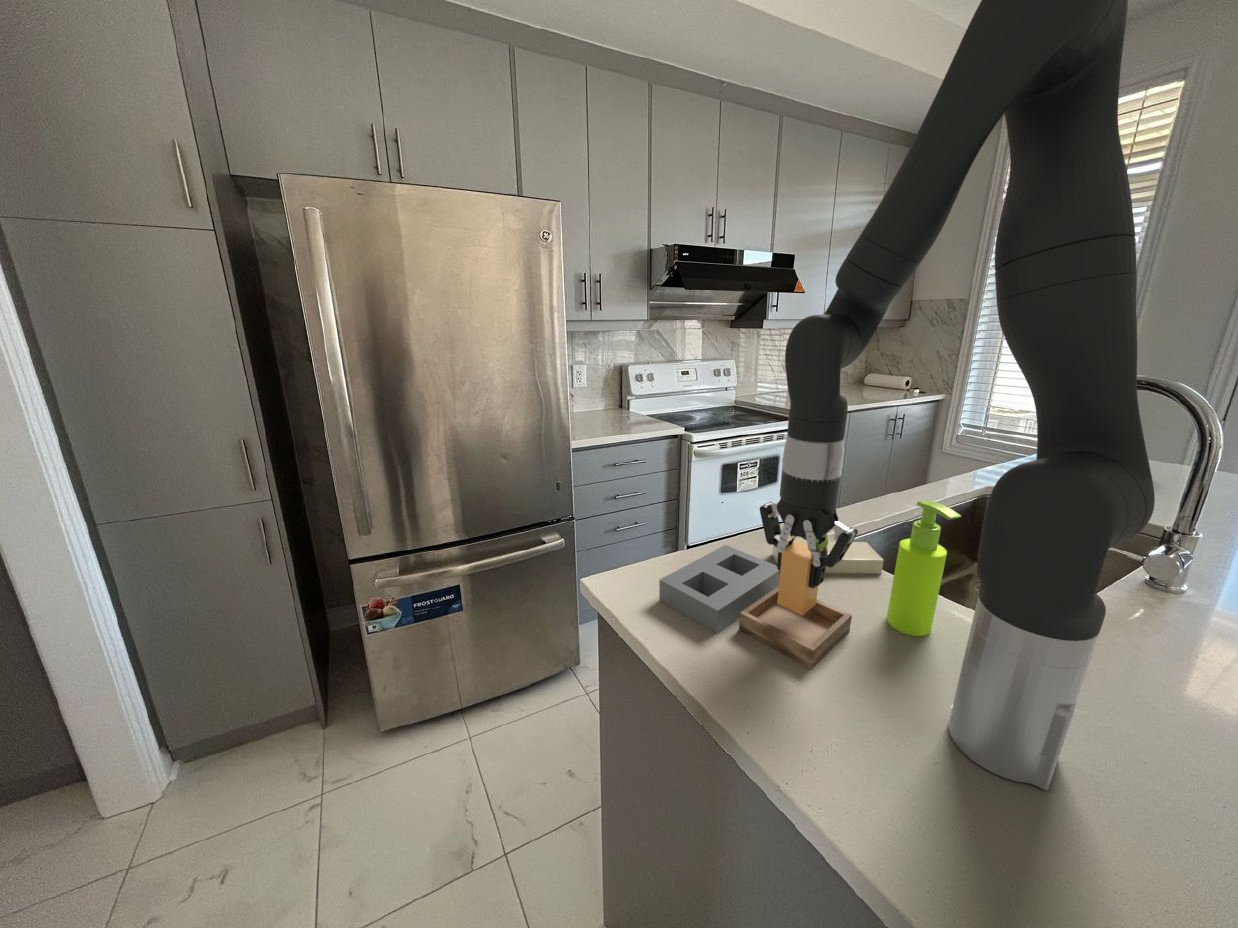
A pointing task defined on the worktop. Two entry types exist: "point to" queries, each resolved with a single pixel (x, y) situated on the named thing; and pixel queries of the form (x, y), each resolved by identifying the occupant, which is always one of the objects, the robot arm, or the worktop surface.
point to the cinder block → (718, 586)
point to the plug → (796, 579)
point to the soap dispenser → (919, 573)
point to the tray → (795, 628)
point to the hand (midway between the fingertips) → (798, 578)
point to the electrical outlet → (851, 559)
